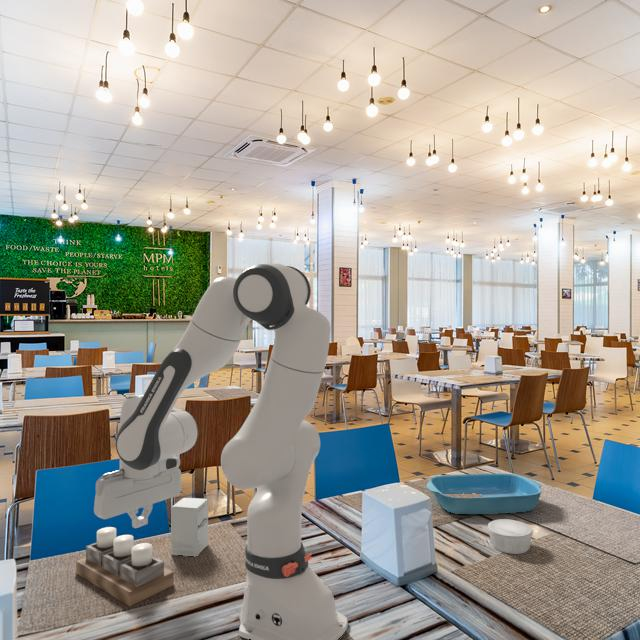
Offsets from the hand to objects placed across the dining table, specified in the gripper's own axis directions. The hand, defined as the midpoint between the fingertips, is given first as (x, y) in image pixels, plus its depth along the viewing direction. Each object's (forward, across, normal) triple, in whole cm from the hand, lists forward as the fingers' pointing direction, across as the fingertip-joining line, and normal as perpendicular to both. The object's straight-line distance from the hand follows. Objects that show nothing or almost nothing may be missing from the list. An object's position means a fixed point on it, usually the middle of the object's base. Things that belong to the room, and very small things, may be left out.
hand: (139, 525), depth 115 cm
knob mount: (+14, 0, +7) cm, 16 cm away
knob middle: (+8, 0, +7) cm, 11 cm away
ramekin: (+13, +72, -60) cm, 94 cm away
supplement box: (+15, +19, +7) cm, 25 cm away
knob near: (+8, 0, -1) cm, 8 cm away
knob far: (+9, 0, +14) cm, 17 cm away
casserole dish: (+13, +98, -43) cm, 108 cm away
